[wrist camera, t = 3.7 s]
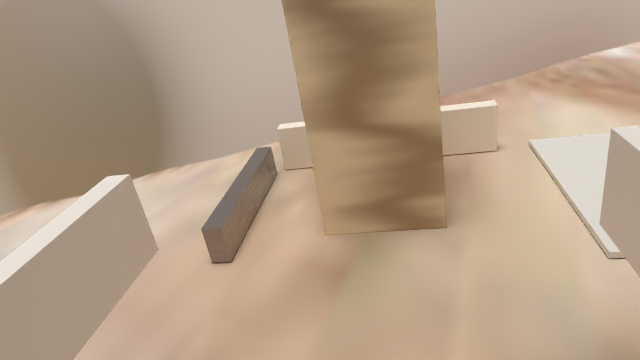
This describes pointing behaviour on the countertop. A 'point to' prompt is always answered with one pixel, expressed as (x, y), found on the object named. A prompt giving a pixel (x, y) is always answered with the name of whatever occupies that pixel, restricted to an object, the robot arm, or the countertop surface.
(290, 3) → the maple block
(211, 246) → the bar
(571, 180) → the grey mat
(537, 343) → the countertop surface
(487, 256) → the countertop surface
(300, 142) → the lane rail
